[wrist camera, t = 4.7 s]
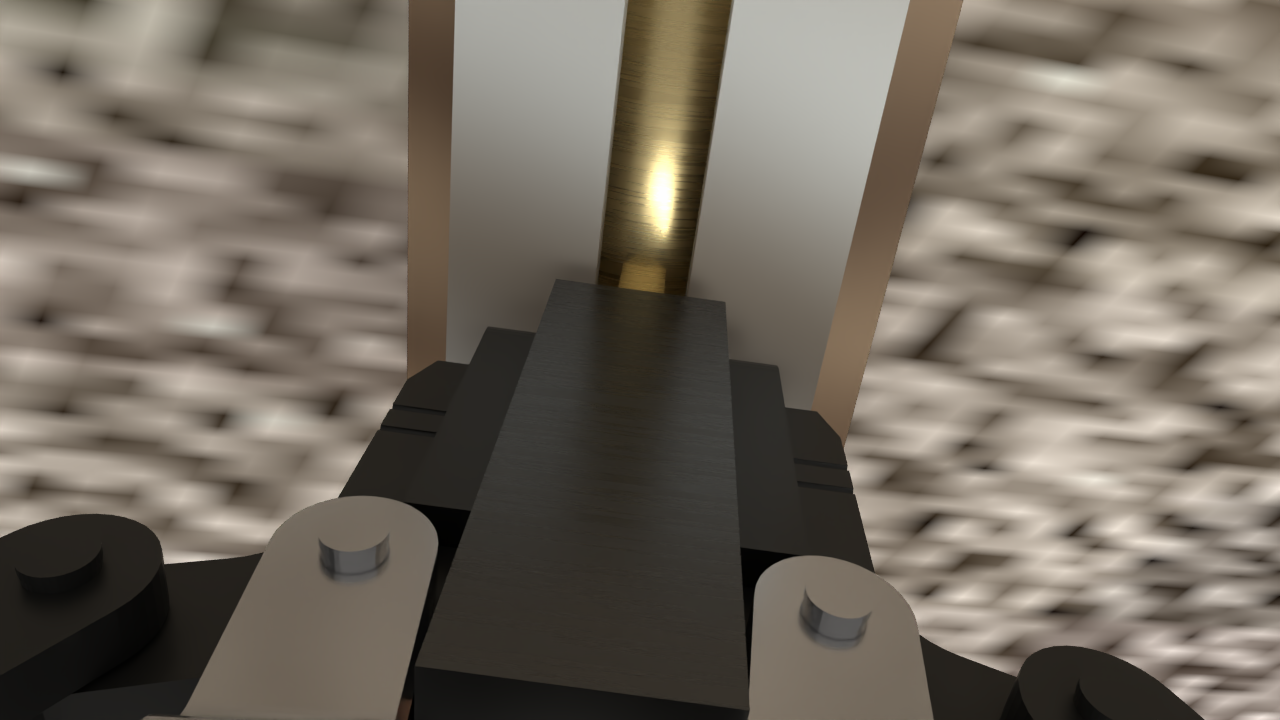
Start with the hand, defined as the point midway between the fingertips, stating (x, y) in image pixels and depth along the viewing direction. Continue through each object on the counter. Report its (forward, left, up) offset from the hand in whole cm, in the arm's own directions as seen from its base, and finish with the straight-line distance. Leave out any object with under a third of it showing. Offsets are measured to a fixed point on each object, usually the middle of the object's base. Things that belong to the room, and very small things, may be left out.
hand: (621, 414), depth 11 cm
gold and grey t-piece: (-1, 0, -5) cm, 5 cm away
